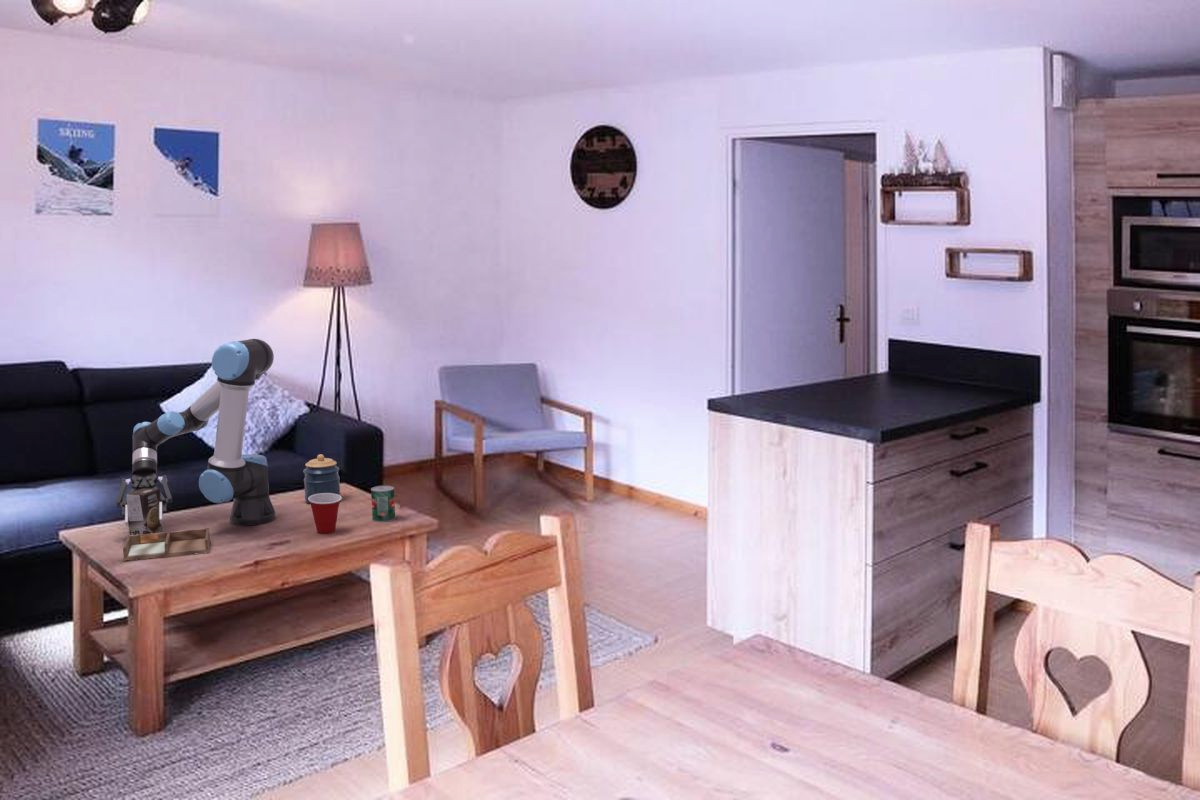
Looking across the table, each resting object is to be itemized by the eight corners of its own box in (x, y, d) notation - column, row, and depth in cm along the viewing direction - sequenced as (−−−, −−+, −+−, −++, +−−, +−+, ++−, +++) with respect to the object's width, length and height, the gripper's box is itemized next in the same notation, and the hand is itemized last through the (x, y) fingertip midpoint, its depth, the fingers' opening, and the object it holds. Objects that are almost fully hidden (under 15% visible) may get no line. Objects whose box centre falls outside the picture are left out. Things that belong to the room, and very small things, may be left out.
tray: (209, 540, 329) (209, 528, 329) (208, 552, 316) (207, 539, 316) (128, 548, 321) (127, 535, 321) (124, 561, 308) (123, 548, 308)
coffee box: (147, 543, 326) (143, 495, 324) (129, 542, 327) (125, 494, 325) (164, 535, 335) (160, 488, 333) (146, 534, 336) (143, 487, 334)
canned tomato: (399, 519, 352) (398, 488, 351) (378, 523, 348) (376, 492, 346) (389, 514, 359) (388, 484, 357) (368, 518, 354) (367, 487, 352)
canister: (321, 506, 370) (319, 459, 367) (297, 502, 377) (294, 455, 374) (348, 499, 381) (346, 453, 378) (324, 494, 388) (322, 449, 385)
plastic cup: (321, 538, 331) (319, 502, 329) (303, 532, 338) (301, 497, 336) (349, 531, 339) (348, 496, 337) (331, 525, 346) (329, 491, 344)
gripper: (181, 468, 346) (182, 525, 334) (110, 473, 339) (108, 531, 327) (179, 455, 340) (180, 513, 328) (106, 461, 333) (104, 520, 321)
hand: (144, 522), depth 327 cm, fingers closed on coffee box, 9 cm apart
